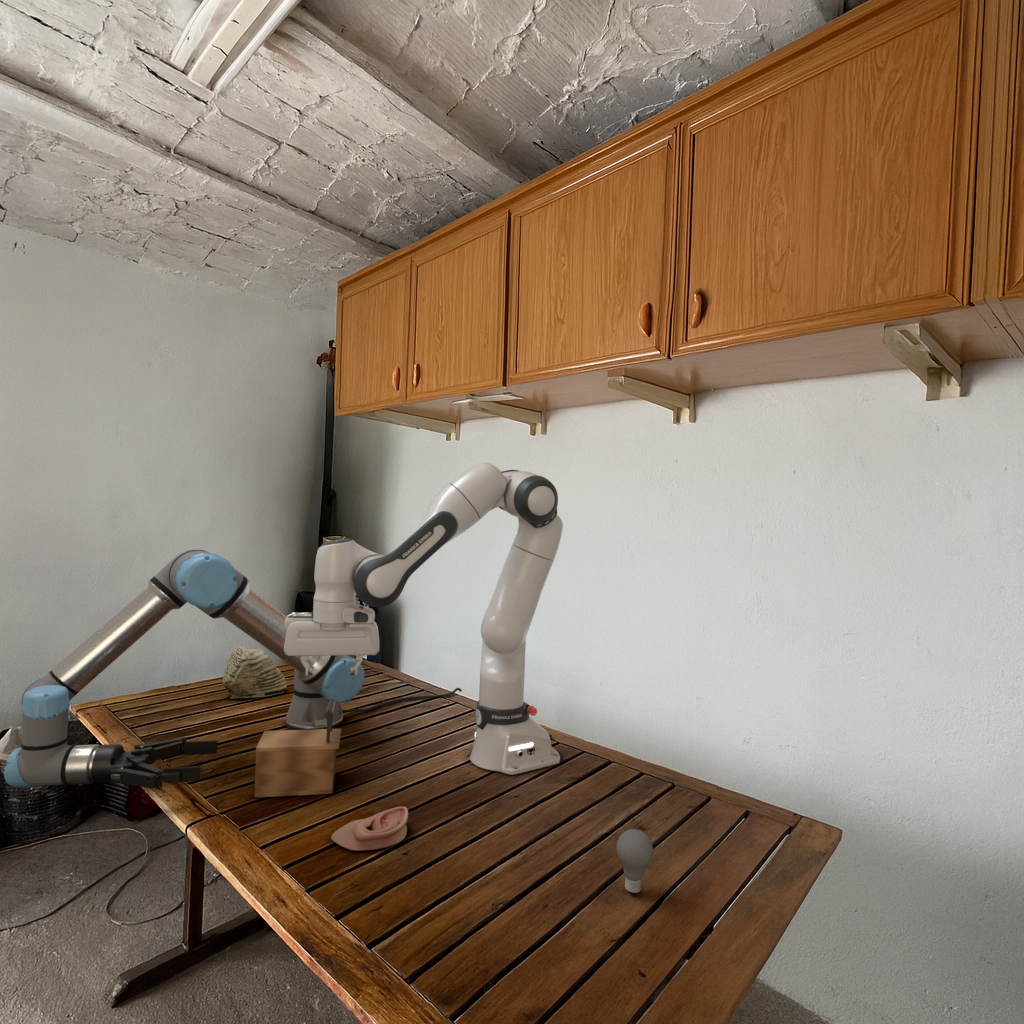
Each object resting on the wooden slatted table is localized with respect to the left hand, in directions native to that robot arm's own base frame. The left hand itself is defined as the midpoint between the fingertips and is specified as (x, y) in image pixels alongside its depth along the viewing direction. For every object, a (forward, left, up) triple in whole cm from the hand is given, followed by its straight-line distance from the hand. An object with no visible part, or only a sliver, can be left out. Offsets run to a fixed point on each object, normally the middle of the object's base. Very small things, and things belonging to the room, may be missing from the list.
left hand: (208, 759), depth 135 cm
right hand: (-19, +16, +18) cm, 30 cm away
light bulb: (-30, +85, -6) cm, 90 cm away
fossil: (-40, -52, -6) cm, 66 cm away
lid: (-14, +12, +3) cm, 19 cm away
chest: (-14, +12, -6) cm, 19 cm away
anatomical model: (-12, +40, -6) cm, 42 cm away
